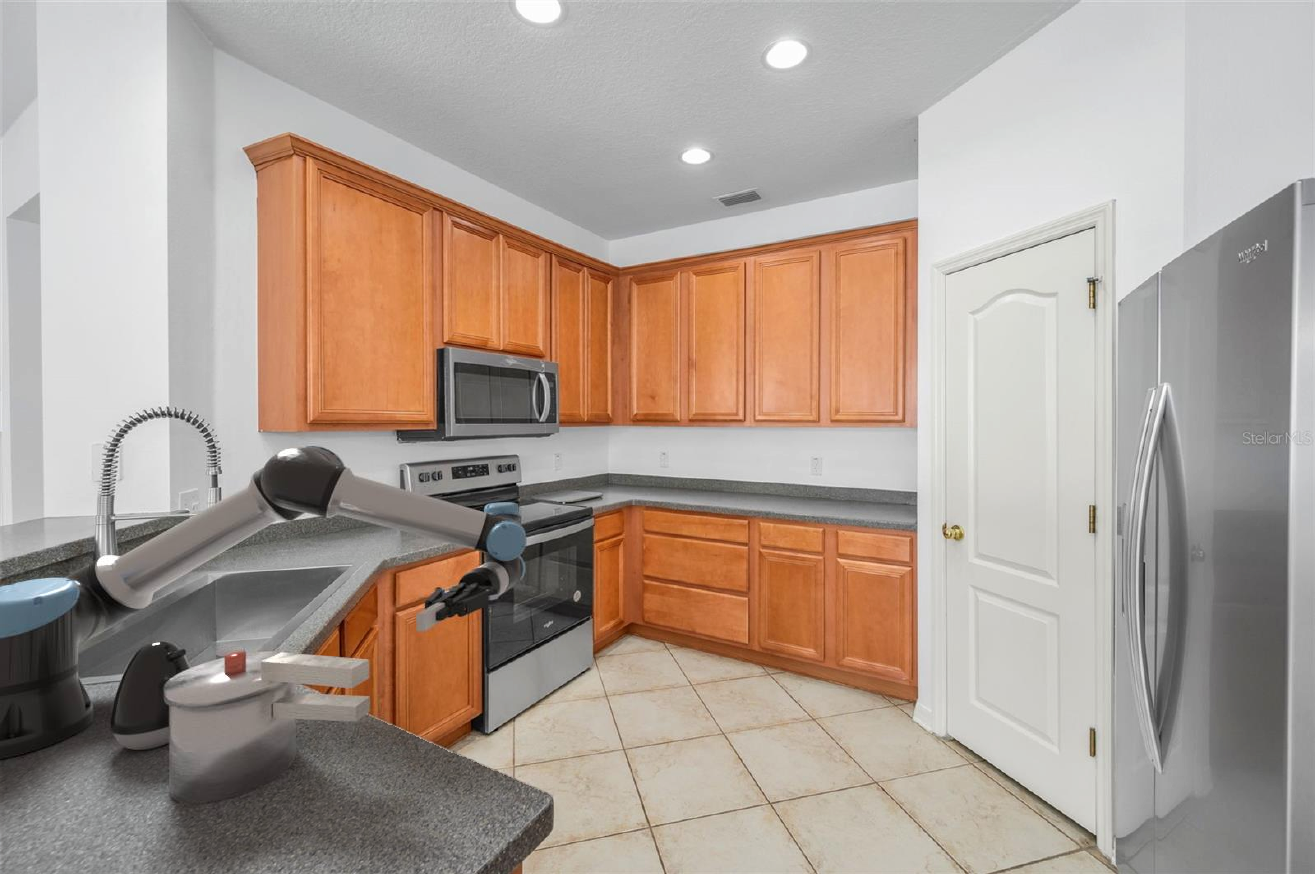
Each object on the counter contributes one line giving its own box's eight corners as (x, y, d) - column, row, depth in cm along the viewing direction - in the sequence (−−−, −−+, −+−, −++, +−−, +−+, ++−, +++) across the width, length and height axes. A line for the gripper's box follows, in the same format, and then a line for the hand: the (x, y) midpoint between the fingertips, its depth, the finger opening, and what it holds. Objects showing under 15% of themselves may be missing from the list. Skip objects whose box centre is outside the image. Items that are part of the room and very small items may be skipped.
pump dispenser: (147, 763, 80) (147, 656, 80) (91, 755, 82) (90, 651, 82) (217, 727, 90) (216, 632, 90) (165, 721, 92) (164, 628, 92)
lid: (132, 702, 72) (132, 671, 72) (240, 657, 87) (240, 632, 87) (315, 722, 67) (315, 688, 67) (397, 671, 81) (397, 643, 81)
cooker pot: (139, 799, 72) (138, 706, 72) (233, 741, 86) (233, 662, 86) (327, 813, 69) (326, 715, 69) (393, 750, 83) (392, 669, 83)
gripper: (513, 603, 114) (458, 647, 90) (453, 602, 115) (383, 644, 92) (513, 567, 114) (458, 600, 90) (453, 566, 115) (383, 598, 92)
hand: (420, 622), depth 91 cm, fingers closed
